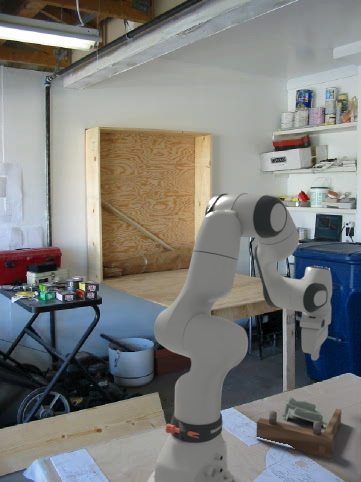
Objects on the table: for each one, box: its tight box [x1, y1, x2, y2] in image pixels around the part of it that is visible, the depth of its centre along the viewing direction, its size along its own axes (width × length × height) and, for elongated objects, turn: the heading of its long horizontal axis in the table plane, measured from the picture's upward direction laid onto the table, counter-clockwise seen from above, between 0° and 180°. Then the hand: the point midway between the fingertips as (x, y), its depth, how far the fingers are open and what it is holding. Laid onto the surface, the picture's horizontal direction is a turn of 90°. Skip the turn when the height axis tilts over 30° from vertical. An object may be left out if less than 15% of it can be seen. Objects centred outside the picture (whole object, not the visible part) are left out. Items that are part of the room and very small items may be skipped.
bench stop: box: [255, 408, 342, 459], centre depth 142 cm, size 22×20×8 cm
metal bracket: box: [281, 397, 330, 429], centre depth 151 cm, size 14×6×15 cm
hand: (315, 358), depth 160 cm, fingers closed
